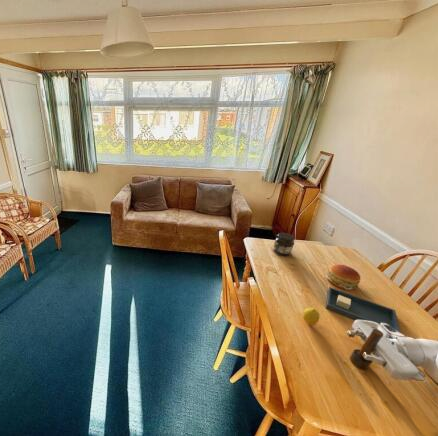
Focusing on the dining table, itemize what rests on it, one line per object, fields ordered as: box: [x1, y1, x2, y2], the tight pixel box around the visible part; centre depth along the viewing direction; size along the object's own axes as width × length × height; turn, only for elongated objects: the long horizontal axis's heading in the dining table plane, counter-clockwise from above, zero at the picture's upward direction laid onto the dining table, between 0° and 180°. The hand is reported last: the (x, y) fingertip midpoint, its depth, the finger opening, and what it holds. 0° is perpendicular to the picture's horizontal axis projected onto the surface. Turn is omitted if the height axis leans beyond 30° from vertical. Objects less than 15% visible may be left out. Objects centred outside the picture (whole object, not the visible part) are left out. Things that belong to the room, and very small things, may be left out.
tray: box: [325, 286, 401, 333], centre depth 103 cm, size 24×15×3 cm, turn 51°
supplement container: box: [272, 232, 296, 257], centre depth 145 cm, size 10×10×12 cm
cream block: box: [336, 295, 351, 310], centre depth 106 cm, size 4×4×3 cm
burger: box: [325, 264, 361, 291], centre depth 119 cm, size 13×14×10 cm
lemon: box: [302, 307, 320, 325], centre depth 97 cm, size 6×6×8 cm
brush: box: [349, 329, 383, 370], centre depth 79 cm, size 5×5×16 cm
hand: (355, 344), depth 80 cm, fingers open, 7 cm apart
